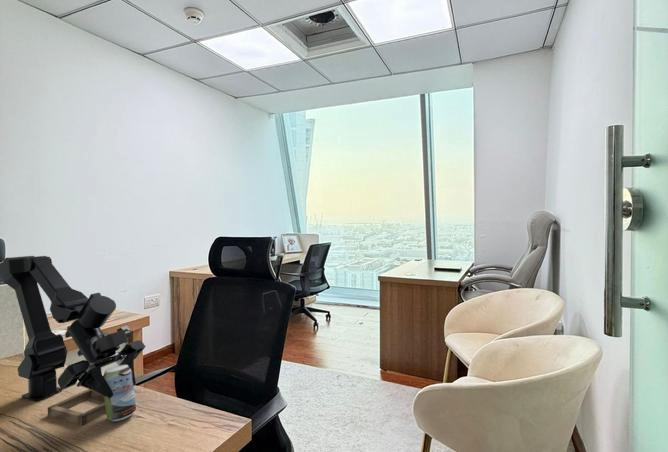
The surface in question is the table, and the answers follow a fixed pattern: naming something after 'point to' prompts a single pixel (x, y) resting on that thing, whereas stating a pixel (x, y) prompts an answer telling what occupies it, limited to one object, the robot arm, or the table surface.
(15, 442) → the table surface
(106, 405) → the beverage can
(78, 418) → the walnut collar
